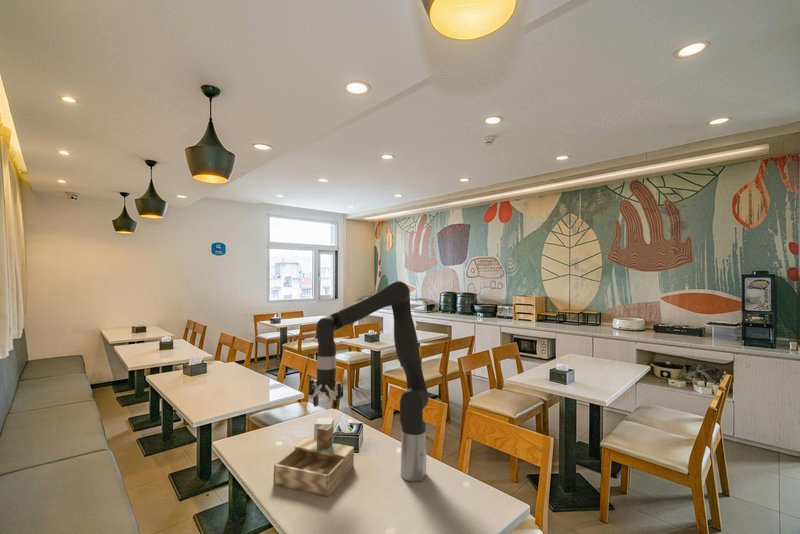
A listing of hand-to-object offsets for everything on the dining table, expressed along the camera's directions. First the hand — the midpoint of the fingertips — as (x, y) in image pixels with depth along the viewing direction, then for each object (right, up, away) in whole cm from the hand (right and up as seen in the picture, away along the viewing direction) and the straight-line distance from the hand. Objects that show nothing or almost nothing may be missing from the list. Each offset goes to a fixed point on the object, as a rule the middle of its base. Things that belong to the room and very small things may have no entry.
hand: (325, 407), depth 143 cm
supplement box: (-4, -24, +13) cm, 27 cm away
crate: (-2, -23, -7) cm, 24 cm away
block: (0, -15, 0) cm, 15 cm away
